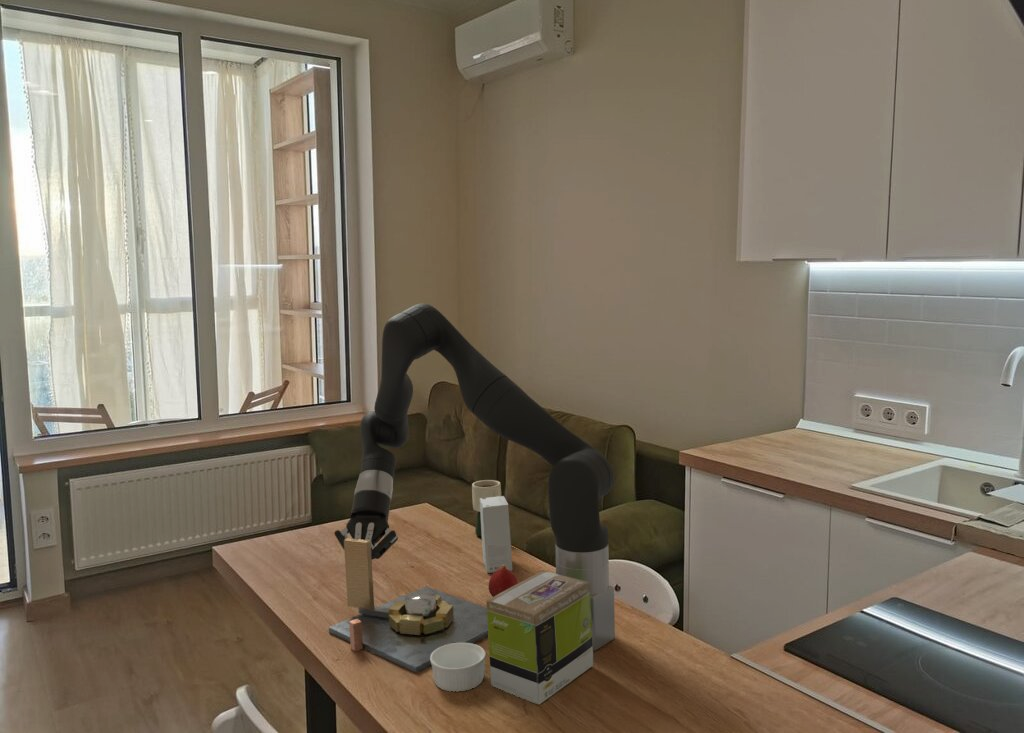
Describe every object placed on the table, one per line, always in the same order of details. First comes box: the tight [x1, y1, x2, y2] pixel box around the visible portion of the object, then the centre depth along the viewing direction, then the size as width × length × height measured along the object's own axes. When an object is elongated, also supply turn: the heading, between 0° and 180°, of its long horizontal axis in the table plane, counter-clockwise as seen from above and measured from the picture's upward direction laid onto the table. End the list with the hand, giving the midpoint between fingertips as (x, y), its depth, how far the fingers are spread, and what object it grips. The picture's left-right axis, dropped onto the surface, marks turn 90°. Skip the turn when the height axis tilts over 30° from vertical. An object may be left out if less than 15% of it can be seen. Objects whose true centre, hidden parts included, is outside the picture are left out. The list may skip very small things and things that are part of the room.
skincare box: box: [480, 495, 513, 574], centre depth 177 cm, size 8×6×15 cm
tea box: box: [486, 570, 594, 705], centre depth 128 cm, size 15×10×15 cm, turn 141°
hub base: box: [328, 586, 488, 674], centre depth 147 cm, size 24×26×6 cm
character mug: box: [471, 479, 502, 537], centre depth 198 cm, size 11×7×13 cm, turn 40°
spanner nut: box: [343, 537, 454, 635], centre depth 150 cm, size 21×12×14 cm, turn 53°
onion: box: [488, 565, 519, 598], centre depth 157 cm, size 6×6×8 cm
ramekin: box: [430, 643, 487, 693], centre depth 129 cm, size 9×9×4 cm
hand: (358, 577), depth 154 cm, fingers closed
